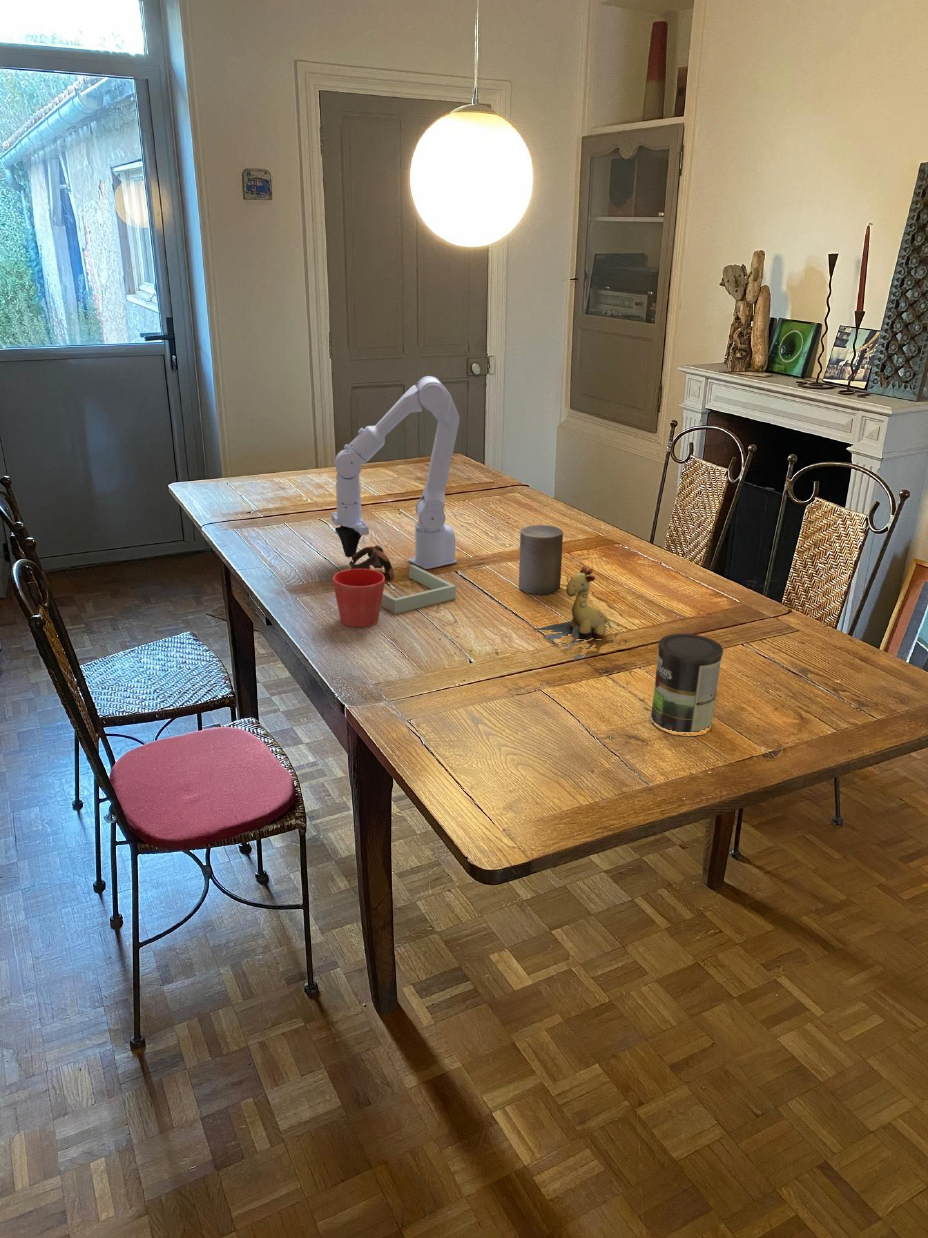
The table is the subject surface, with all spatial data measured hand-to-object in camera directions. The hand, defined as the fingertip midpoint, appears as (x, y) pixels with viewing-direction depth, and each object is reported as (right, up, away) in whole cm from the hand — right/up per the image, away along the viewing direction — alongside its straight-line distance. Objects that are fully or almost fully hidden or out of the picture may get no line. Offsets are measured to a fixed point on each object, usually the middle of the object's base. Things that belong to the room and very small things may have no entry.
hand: (350, 556), depth 227 cm
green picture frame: (+14, -10, -17) cm, 24 cm away
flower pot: (+6, -16, -31) cm, 35 cm away
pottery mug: (+6, -5, -6) cm, 10 cm away
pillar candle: (+45, -8, -11) cm, 47 cm away
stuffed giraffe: (+53, -19, -37) cm, 67 cm away
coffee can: (+64, -33, -69) cm, 99 cm away
